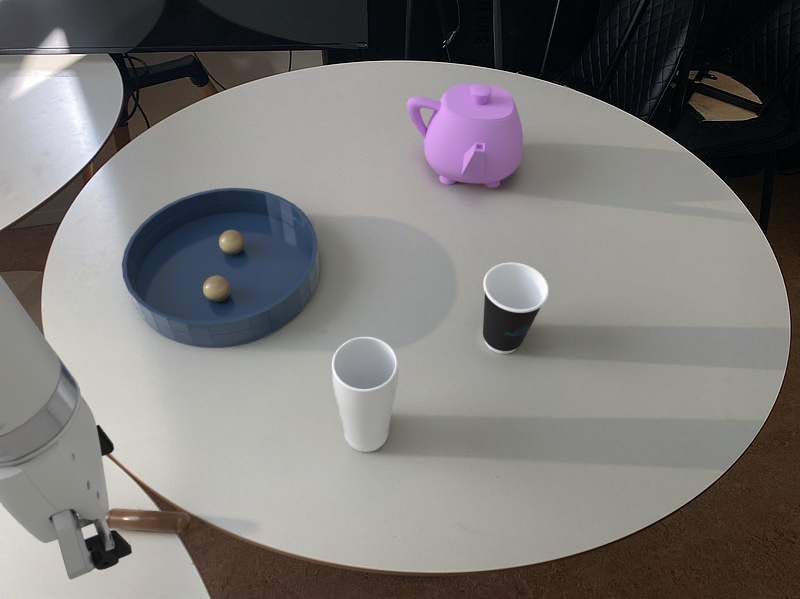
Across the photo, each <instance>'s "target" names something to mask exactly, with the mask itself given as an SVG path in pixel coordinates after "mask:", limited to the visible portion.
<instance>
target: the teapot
mask: <svg viewBox="0 0 800 599" xmlns="http://www.w3.org/2000/svg"><path fill="white" fill-rule="evenodd" d="M421 109H429V110H433V111H432V113H431V115H430V117H429V120H428V123H427V126H426V124H425V121H424V120H423V117H422V113H421ZM406 110H407V114H408V116H409V118H410V120H411V122H412V123H413V125H414V126H415V128H416V129H417V131H418V132H419V134H420V135H421V137H422V138H423V151H424V152H423V153H424V155H425V159H426V161H427V163H428V165H429V166H430V167H431V169H432V170H433V171H434V172H435V173H436V174H438V175H439V177H438V180H439V181H440V183H442V184H444V185H454V184H456V183H457V182H459V183H465V184H474V185H475V184H482V185H484V186H485V187H486V188H491V189H494V188H495V189H496V188H498V187H499V186H500V185H501V181H502V180H504V179H506V178H508V177H509V176H510V175H512V174H513V173H514V172H515V171H516V170H517V169H518V168H519V166H520V164H521V161H522V155H523V149H524V134H523V126H522V122H521V117H520V114H519V111H518V108H517V105H516V102H515V100H514V98H513V95H512V94H511V93H510V92H509V91H508V90H506V89H504V88H501V87H500V86H495V85H490V84H486V83H485V84H484V83H462V84H455V85H453V86H451V87H449V88H448V89H447V90H446V91H445V92H444V94H442V96H441V98H440V99H439V100H436V99H433V98H430V97H429V98H428V97H424V96H412V97H410V98H409V99H408V100H407V102H406Z"/></svg>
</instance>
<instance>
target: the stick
mask: <svg viewBox="0 0 800 599" xmlns="http://www.w3.org/2000/svg"><path fill="white" fill-rule="evenodd" d="M105 520H106V522H107V524H108V527H109V529H110V530H127V531H128V530H129V531H130V530H131V531H143V532H144V531H145V532H162V533H178V534H179V533H183V532H186V531H187V530H188V529H189V528H190V526H191V523H192V522H191V517H190V515H189V514H187V513H186V512H183V511H167V510H149V509H147V510H146V509H132V508H115V507H114V508H111V509H109V512H108V514H107V516H106V517H105Z"/></svg>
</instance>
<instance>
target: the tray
mask: <svg viewBox="0 0 800 599" xmlns="http://www.w3.org/2000/svg"><path fill="white" fill-rule="evenodd" d="M227 230H236V231H238V232H239V233H241V234H242V236H243V237H244V241H245V244H244V248H243V249H242V251H241V252H239V253H237V254H234V255H230V254H227V253H225V252H224V251H223V250H222V249H221V248H220V245H219V239H220V236H221V235H222V234H223V233H224V232H225V231H227ZM319 256H320V255H319V245H318V236H317V233H316V230H315V228H314V225H313V223H312V222H311V220H310V219H309V217H308V215H307V214H306V213H305V212H304V211H303V210H302V209H300V208H299V207H298V206H297V205H296V204H294V203H293V202H291V201H289V200H288V199H286V198H284V197H282V196H280V195H278V194H274V193H271V192H268V191H264V190H260V189H255V188H248V187H247V188H246V187H245V188H244V187H242V188H241V187H225V188H224V187H223V188H213V189H209V190H203V191H199V192H195V193H193V194H189V195H186V196H184V197H180V198H179V199H177V200H174V201H172V202H169V203H168V204H166V205H164V206H163V207H161V208H159V209H158V210H156V211H155V212H154V213H153V214H151V215H150V216H148V218H146V219H145V220H144V221H143V222H142V223H141V224H140V225H139V226H138V228H137V229H136V230H135V231H134V233H133V234H132V235H131V237H130V238H129V240H128V242H127V244H126V246H125V249H124V250H123V256H122V261H121V271H122V279H123V282H124V285H125V286H126V289H127V292H128V293H129V295H130V297H131V300H132V301H133V304H134V306H135V308H136V310H137V312H138V314H139V315H140V316H141V318H142V320H144V322H145V323H146V324H147V325H148V326H149V327H150V328H151V329H153V330H154V331H155V332H157V333H158V335H160V336H163V337H165V338H167V339H169V340H171V341H174V342H176V343H178V344H179V343H180V344H182V345H186V346H191V347H199V348H227V347H234V346H239V345H245V344H248V343H251V342H254V341H257V340H260V339H262V338H265V337H267V336H269V335H271V334H273V333H275V332H276V331H279V330H281V329H282V328H283V327H285V326H286V325H288V324H289V323H291V322H292V321H293V320H294V319H295V318H297V316H298V315H299V314H301V313H302V311H303V310H304V309H305V308H306V307H307V305H308V304H309V302H310V301H311V299H312V298H313V297H314V294H315V292H316V289H317V287H318V284H319V279H320V271H321V270H320V269H321V268H320V267H321V266H320V257H319ZM212 276H222V277H224V278H225V279H226V280H227V281H228V282H229V284H230V294H229V296H228V297H227V298H226V299H225V300H223V301H220V302H213V301H210V300H209V299H207V298H206V296H205V295H204V292H203V285H204V283H205V281H206V280H207V279H208V278H209V277H212Z"/></svg>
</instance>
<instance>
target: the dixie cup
mask: <svg viewBox="0 0 800 599" xmlns="http://www.w3.org/2000/svg"><path fill="white" fill-rule="evenodd" d="M482 285H483V291H484V302H483V303H484V305H483V322H482V337H483V340H484V343H485V345H486V346H487V348H488V349H489V350H491V351H492V352H493V353H496V354H500V355H508V354H509V355H510V354H511V353H514V352H515V351H516V350H517V349H518V348H520V346H521V345H522V344H523V342H524V341H525V338H526V336H527V335H528V333H529V331H530V329H531V326H532V325H533V323H534V321H535V320H536V318H537V316H538V314H539V311H540V310H541V308H542V307H543V306H544V305H545V303H546V302H547V301H548V299H549V297H550V296H549V295H550V286H549V282H548V281H547V280H546V277H545V276H544V275H543V274H542V273H541V272H540V271H539V270H538V269H536V268H534V267H532V266H530V265H528V264H526V263H525V264H524V263H520V262H512V261H511V262H503V263H499V264H497V265H495V266H493V267H491V268H490V269H489V270H488V271H487V272H486V274H485V275H484V277H483V284H482Z"/></svg>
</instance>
